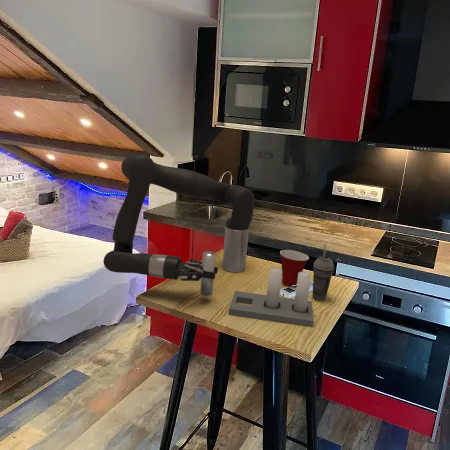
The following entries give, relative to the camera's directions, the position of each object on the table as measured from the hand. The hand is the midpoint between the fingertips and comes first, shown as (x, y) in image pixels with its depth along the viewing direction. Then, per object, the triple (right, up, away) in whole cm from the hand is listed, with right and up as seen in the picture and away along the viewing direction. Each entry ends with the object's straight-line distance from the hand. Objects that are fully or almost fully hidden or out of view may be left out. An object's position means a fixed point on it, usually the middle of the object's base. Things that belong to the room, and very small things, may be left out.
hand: (216, 273), depth 140 cm
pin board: (+18, -12, 0) cm, 22 cm away
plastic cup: (+28, -7, +23) cm, 37 cm away
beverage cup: (+36, -10, +12) cm, 39 cm away
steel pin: (-3, -7, +2) cm, 8 cm away
